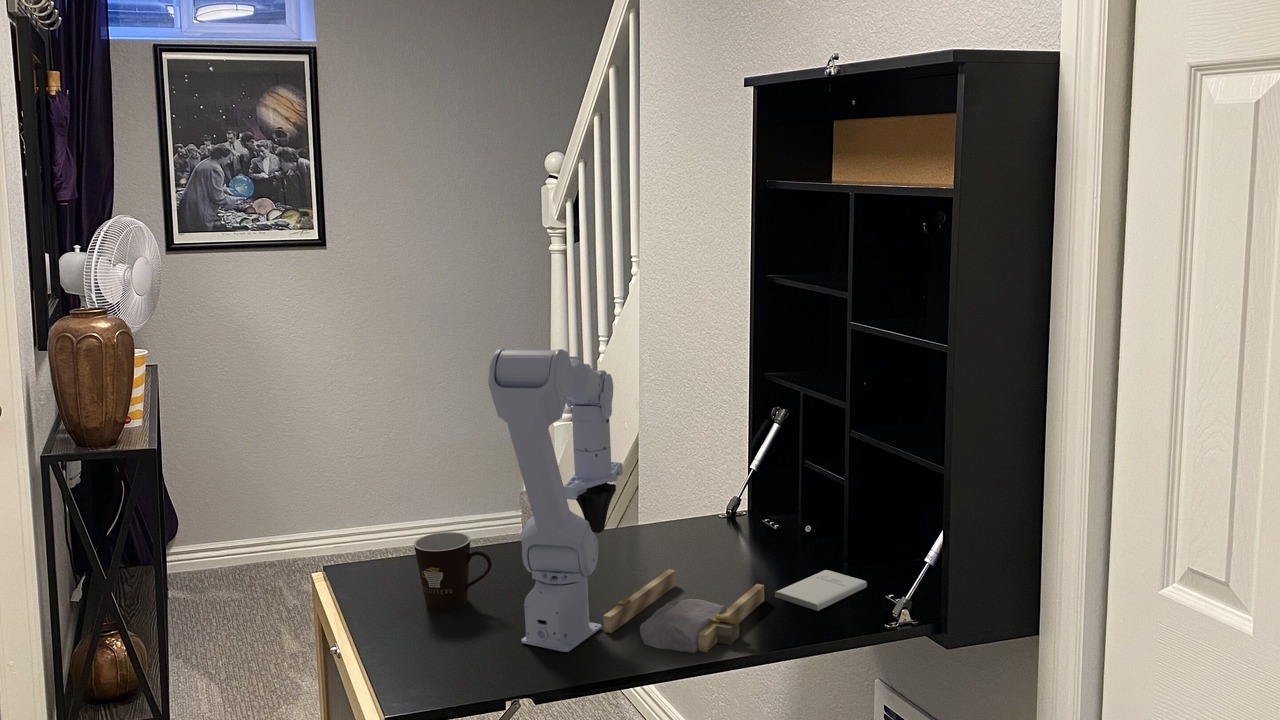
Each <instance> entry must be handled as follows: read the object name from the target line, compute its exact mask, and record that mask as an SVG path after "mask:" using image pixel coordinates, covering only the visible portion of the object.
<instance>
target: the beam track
mask: <svg viewBox="0 0 1280 720" xmlns="http://www.w3.org/2000/svg"><path fill="white" fill-rule="evenodd" d="M676 582H677V579H676V570H674V569H667V570H665V571H664V572H662V573H661V574H660V575H658V576H657V577H655V578H654V579H653V580H651V581H649V583H647V584H646V585H644V586H643V587H642V588H640V589H639V590H637V591H636V592H635V593H633V594H632V595H631V596H629V597H628V598H622V599H621V600H619V601H618V602H617V605H616V606H615V607H613V608H611V610H609V611H608V612H606V613H604V615H603V631H604V633H608V634H613V633H614V632H615V631H616V630H618V629H619V628H620V627H622V626H623V625H624V624H626V623H627V622H629V621H630V620H631V619H633V618H634V617H636V616H637V615H639V613H641V612H642V611H644V610H645V609H646V608H647V607H648V606H650V605H652V604H654V603H655V602H656V601H657V600H659V599H660V598H661V597H662V596H664V595H665V594H666V593H668V592H669V591H670V590H671V589H673V588H675V587H676V585H677V583H676ZM764 602H765V585H764V584H760V583H756V584H754V586H752V587H751V588H750V589H749V590H747V592H745V593H744V594H743V595H741V596H740V597H739V598H738V599H737V600H736V601H735V602H733V603H732V604H731V605H730V606H729V607H727V608H726V610H725V611H724V612H723V613H722V614H721V615H720V614H717V616H715V617H714V618H712V619H711V623H710V624H709V625H708V626H706V627H705V628H704V629H703V630H702V631H701V632H699V633H698V651H699V652H701V653H702V652H703V653H708V652H709V650H711V649H712V648H713V647H714V646H715V645H716V644H722V645H729V646H730V645H732V644H733V643H734V642H735V641H736V640H737V639H739V637H740V623H741V622H742V621H743V620H744V619H745V618H746V617H748V616H749V614H751V613H752V612H753V611H754V610H756V609H757V608H758V607H759V606H760V605H761V604H762V603H764ZM698 651H697V652H698Z"/></svg>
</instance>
